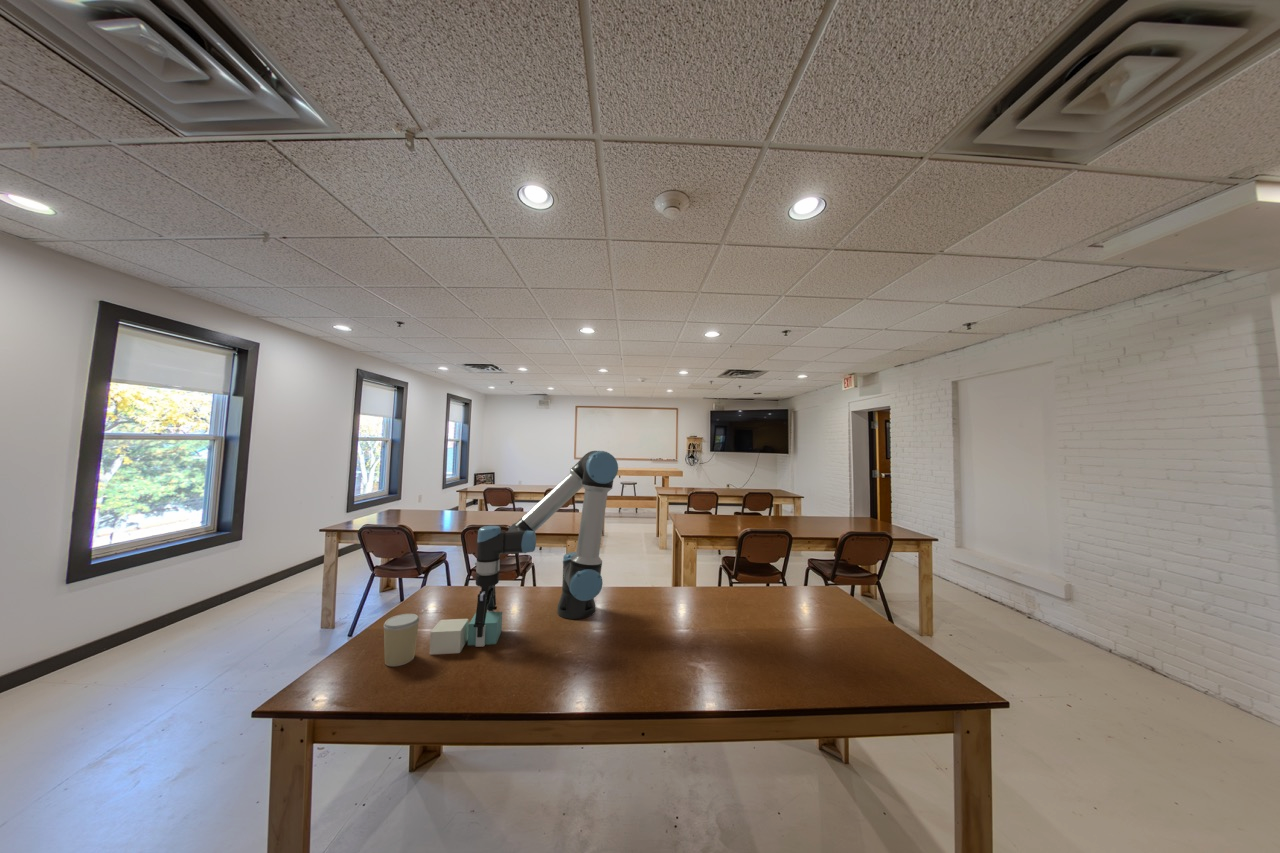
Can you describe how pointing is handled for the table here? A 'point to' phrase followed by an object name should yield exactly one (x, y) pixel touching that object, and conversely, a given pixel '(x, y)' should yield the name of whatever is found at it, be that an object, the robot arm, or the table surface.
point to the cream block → (449, 636)
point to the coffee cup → (400, 639)
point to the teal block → (487, 628)
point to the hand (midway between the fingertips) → (485, 637)
